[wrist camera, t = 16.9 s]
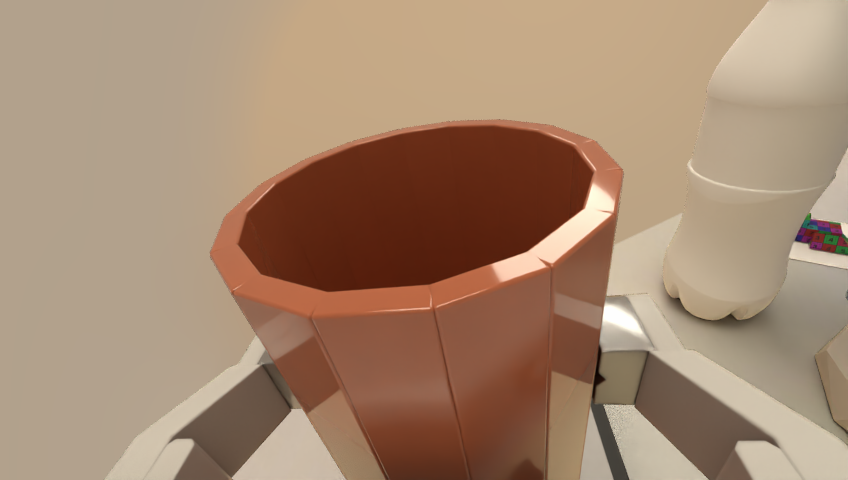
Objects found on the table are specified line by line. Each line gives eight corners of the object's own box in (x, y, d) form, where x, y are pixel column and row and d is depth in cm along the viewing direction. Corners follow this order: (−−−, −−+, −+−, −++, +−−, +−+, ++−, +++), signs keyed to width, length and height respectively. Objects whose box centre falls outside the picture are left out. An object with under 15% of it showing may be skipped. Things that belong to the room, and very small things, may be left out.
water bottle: (778, 342, 25) (1063, -170, 12) (658, 320, 28) (771, -101, 15) (754, 278, 30) (934, -130, 17) (655, 265, 33) (738, -85, 20)
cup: (348, 591, 9) (95, 330, 4) (389, 378, 15) (305, 141, 9) (608, 612, 8) (742, 291, 3) (551, 373, 14) (561, 104, 8)
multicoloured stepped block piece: (784, 244, 33) (795, 222, 32) (784, 228, 34) (794, 207, 33) (852, 255, 30) (866, 232, 29) (848, 238, 32) (861, 215, 31)
